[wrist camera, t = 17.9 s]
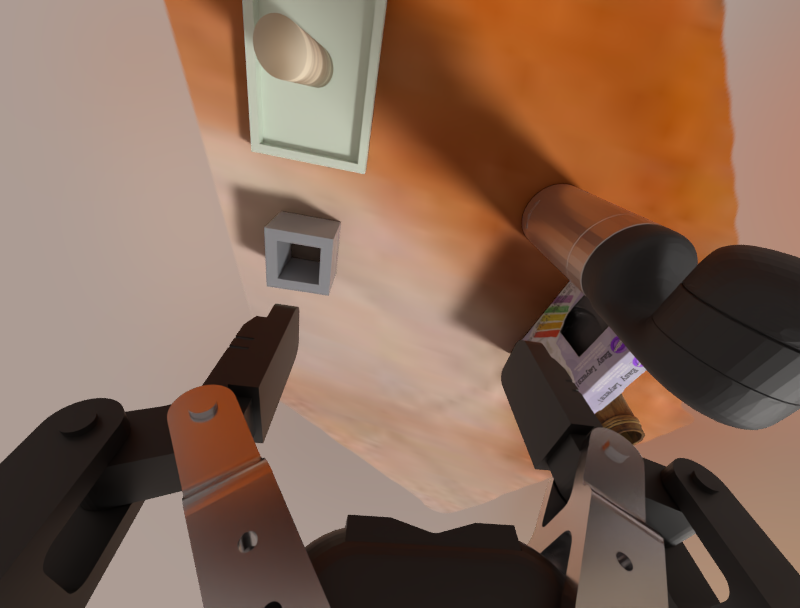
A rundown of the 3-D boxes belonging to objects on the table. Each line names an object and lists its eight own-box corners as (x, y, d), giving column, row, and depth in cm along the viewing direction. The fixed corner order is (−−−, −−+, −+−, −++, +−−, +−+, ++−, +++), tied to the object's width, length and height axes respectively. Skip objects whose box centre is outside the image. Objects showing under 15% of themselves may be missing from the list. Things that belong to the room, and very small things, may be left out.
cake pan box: (573, 272, 51) (647, 341, 36) (596, 282, 52) (677, 353, 37) (506, 352, 60) (543, 433, 45) (526, 359, 61) (569, 440, 47)
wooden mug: (556, 381, 65) (606, 465, 50) (622, 375, 64) (692, 458, 49) (550, 408, 70) (593, 492, 55) (610, 403, 69) (671, 486, 54)
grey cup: (340, 221, 45) (333, 239, 39) (336, 273, 50) (328, 295, 44) (281, 211, 44) (264, 227, 38) (281, 264, 49) (266, 286, 43)
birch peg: (334, 48, 34) (307, 20, 23) (332, 91, 36) (305, 85, 25) (297, 38, 33) (251, 6, 22) (297, 83, 35) (254, 73, 24)
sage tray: (392, -40, 31) (392, -50, 29) (366, 170, 41) (364, 174, 39) (247, -82, 29) (236, -96, 27) (258, 148, 40) (251, 151, 38)
